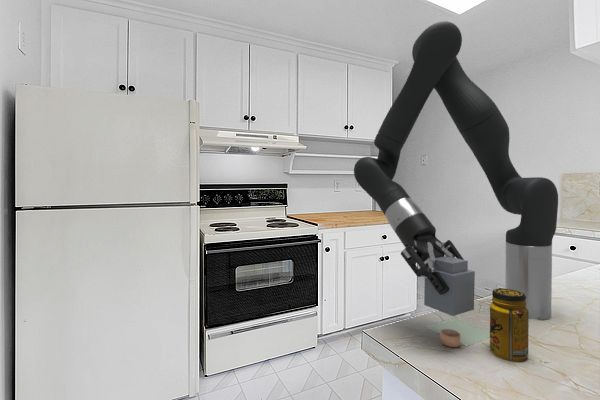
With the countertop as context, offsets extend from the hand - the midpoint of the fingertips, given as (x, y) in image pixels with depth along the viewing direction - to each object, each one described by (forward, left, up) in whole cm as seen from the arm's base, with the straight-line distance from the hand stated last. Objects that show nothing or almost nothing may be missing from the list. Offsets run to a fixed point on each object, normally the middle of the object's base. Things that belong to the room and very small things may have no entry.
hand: (456, 289), depth 61 cm
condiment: (-4, +9, -12) cm, 16 cm away
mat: (-8, -1, -12) cm, 14 cm away
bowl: (-1, -1, -12) cm, 12 cm away
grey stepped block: (0, -2, -4) cm, 4 cm away
